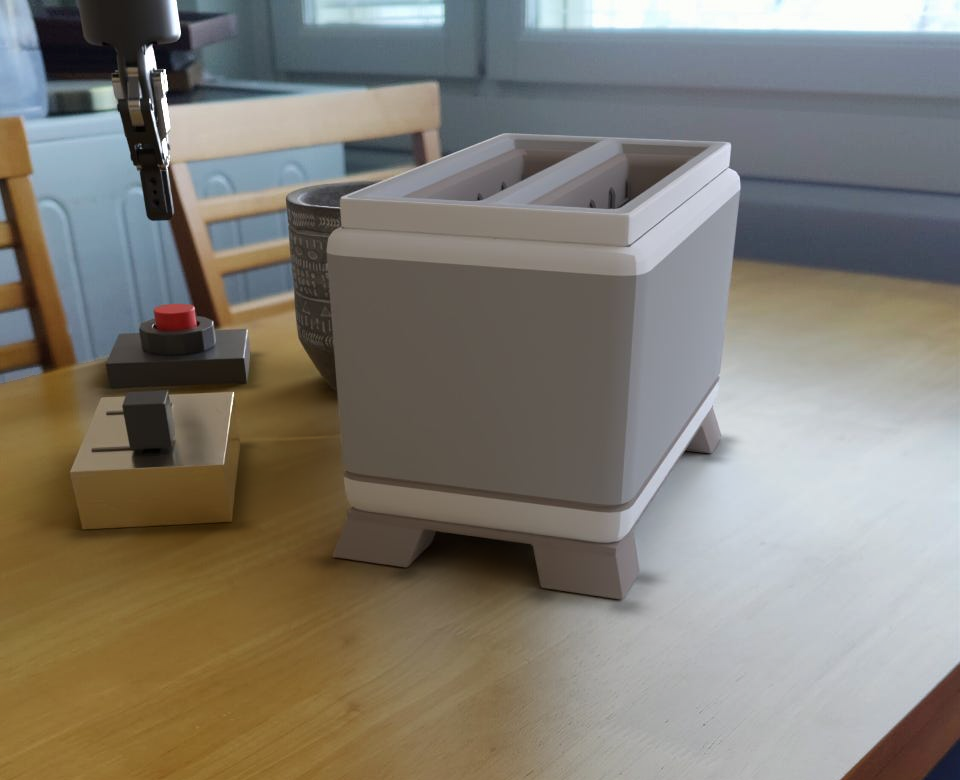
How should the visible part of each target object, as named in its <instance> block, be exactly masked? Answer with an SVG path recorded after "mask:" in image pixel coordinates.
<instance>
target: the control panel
mask: <svg viewBox="0 0 960 780" xmlns="http://www.w3.org/2000/svg"><path fill="white" fill-rule="evenodd" d="M125 397H126V396H105V397H104V396H103V397H101V398H100V400H99V402H98V404H97V407H96V409H95V411H94V414H93V416H92V419H91V421H90V423H89V426H88V428H87V431H86V433H85V435H84V437H83V440H82V443H81V445H80V447H79V449H78V452H77V454H76V457H75V458H74V461H73V464H72V466H71V469H70V471H69V475H70V478H71V483H72V487H73V492H74V497H75V501H76V506H77V511H78V515H79V520H80V524H81V525H80V526H81V529H82V530H100V529H101V530H102V529H119V528H121V529H123V528H138V527H141V528H142V527H157V526H176V525H177V526H178V525H179V526H180V525H197V524H198V525H199V524H215V523H230V522H232V521H233V512H234V504H235V497H236V496H235V495H236V487H237V478H238V470H239V469H238V468H239V458H240V451H241V437H240V436H241V435H240V431H239V430H240V429H239V422H238V414H237V406H236V399H235V398H236V397H235V392H234V391H225V392H223V391H222V392H221V391H220V392H202V393H201V392H198V393H176V394H175V393H173V394H169V397H170V403H171V410H172V416H173V422H174V428H175V436H174V440H173V444H172V448H159V449H138V450H131V449H130V446H129V440H128V435H127V430H126V424H125V419H124V413H123V408H122V405H123V402H124V399H125Z"/></svg>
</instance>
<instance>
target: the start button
mask: <svg viewBox="0 0 960 780" xmlns="http://www.w3.org/2000/svg"><path fill="white" fill-rule="evenodd" d="M195 309H196V308H195V306H194V305H192V304H187V303H168V304H161V305H159V306H156V307H154V308H153V316H154V319H155V323H156V329H157V330H164V331H179V330H186V329H191V328H195V327H197V323H196V316H197V315H196V310H195Z"/></svg>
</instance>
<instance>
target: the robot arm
mask: <svg viewBox="0 0 960 780" xmlns="http://www.w3.org/2000/svg"><path fill="white" fill-rule="evenodd" d="M77 5H78V11H79V16H80V22H81V28H82V33H83V38H84V40H85V41H86V42H87V43H88V44H90V45H92V46H100V47H101V46H109V47H110V46H111V47H112V48H113V49H114V50H115V52H116V61H117V62H116V63H117V70H116V69H115V71H114V73H113V72H112V73H111V77H110V78H111V84H112V91H113V96H114V98H115V99H116V100H117V104H116V108H117V112H118V113H119V117H120V119H121V123H122V128H123V134H124V137H125V138H126V143H127V146H128V149H129V150H128V151H129V153H130V154H129V156H130V161H131V162H132V164H133V166H134V167H136V168H135V169H136V171H137V172H139V178H140V184H141V190H142V195H143V196H142V197H143V201H144V208H145V214H146V218H147V219H148V220H149V221H151V222H160V221H163V222H165V221H170V220H172V218H173V216H174V214H175V207H174V200H173V196H172V195H173V194H172V187H171V182H170V175H169V169H168V168H169V167H170V162H171V159H170V151H171V144H170V143H169V141H170V140H169V133H170V131H171V124H170V118H169V110H168V109H169V108H168V103H167V93H168V91H169V87H168V80H167V74H166V69H164V68H160V69H159V68H158V67H157V62H156V56H155V51H154V48H153V45H165V44H166V45H167V44H172V43H175V42H178V40H180V38H181V36H182V35H181V34H182V33H181V25H180V17H179V11H178V3H177V0H77Z"/></svg>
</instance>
